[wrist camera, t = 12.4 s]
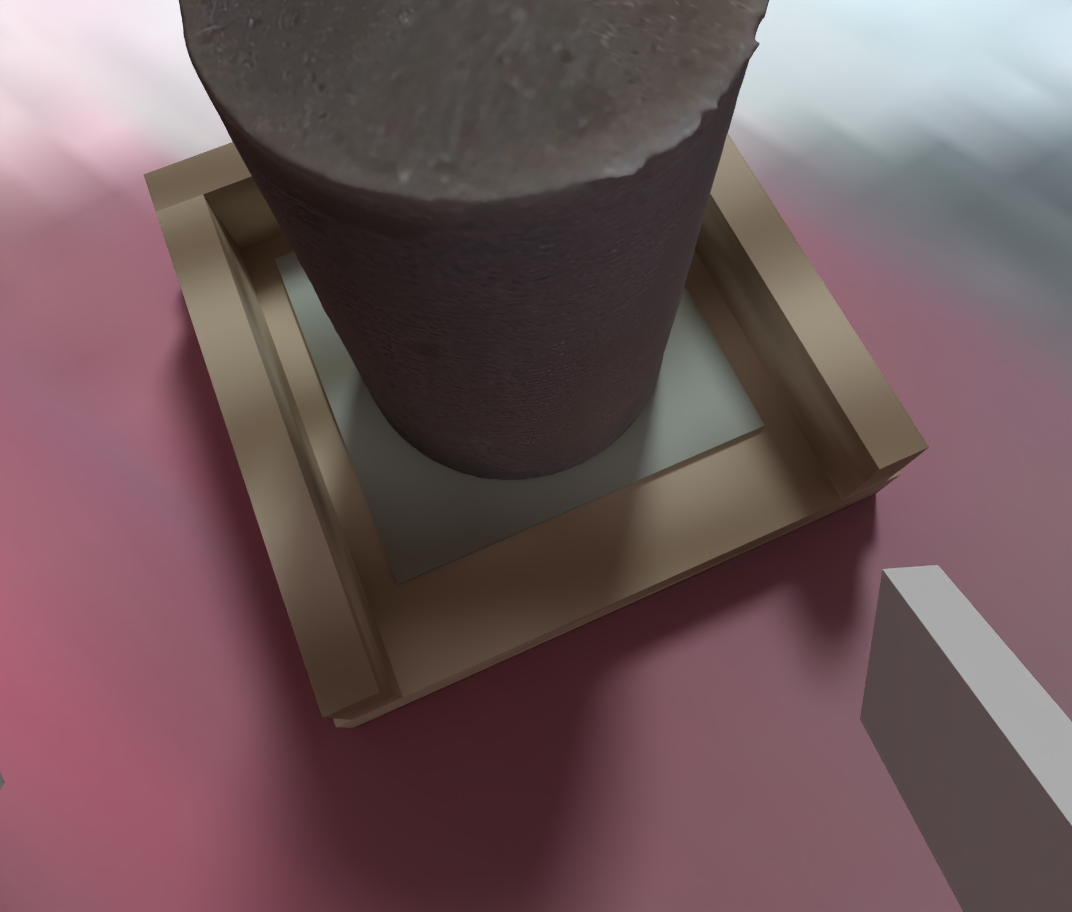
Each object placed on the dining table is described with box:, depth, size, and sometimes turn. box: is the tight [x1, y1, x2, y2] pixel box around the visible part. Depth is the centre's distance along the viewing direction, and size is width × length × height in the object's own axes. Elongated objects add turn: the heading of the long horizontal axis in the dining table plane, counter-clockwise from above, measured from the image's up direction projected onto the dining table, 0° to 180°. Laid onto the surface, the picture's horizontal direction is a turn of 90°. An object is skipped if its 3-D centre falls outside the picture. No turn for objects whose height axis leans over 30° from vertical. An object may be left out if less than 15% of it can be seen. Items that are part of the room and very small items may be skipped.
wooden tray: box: [144, 133, 929, 728], centre depth 26 cm, size 18×18×5 cm
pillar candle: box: [179, 0, 769, 480], centre depth 19 cm, size 10×10×15 cm
